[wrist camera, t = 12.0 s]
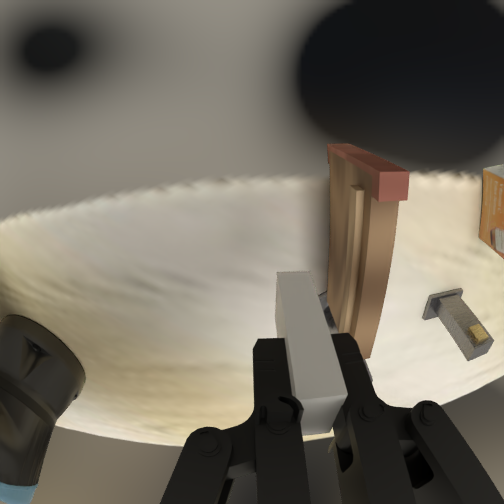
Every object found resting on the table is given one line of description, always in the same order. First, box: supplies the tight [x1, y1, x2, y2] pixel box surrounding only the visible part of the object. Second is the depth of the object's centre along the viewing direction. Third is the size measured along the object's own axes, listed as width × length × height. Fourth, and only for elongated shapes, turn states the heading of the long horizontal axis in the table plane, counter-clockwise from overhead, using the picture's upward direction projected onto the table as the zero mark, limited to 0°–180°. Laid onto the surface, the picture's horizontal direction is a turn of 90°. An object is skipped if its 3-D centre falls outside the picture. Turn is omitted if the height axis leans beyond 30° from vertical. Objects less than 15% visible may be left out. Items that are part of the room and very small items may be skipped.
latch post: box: [423, 288, 494, 361], centre depth 23 cm, size 5×3×8 cm, turn 96°
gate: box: [327, 144, 409, 359], centre depth 18 cm, size 13×2×8 cm, turn 6°
